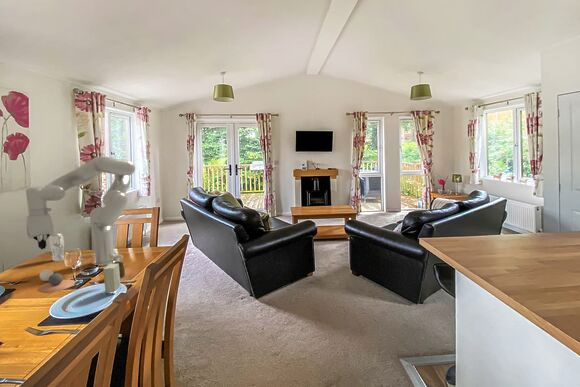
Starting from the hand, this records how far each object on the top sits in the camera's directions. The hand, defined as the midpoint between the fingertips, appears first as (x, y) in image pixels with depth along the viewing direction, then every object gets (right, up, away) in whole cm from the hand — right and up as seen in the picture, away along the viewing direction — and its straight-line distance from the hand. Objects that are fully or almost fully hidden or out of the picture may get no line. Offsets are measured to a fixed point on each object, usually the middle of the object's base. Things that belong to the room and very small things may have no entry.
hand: (42, 248), depth 168 cm
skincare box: (+44, -17, -17) cm, 50 cm away
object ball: (+12, -13, -8) cm, 20 cm away
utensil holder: (+37, -15, +1) cm, 40 cm away
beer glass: (-12, -12, +29) cm, 33 cm away
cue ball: (+4, -13, -3) cm, 14 cm away
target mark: (+14, -16, -9) cm, 23 cm away
